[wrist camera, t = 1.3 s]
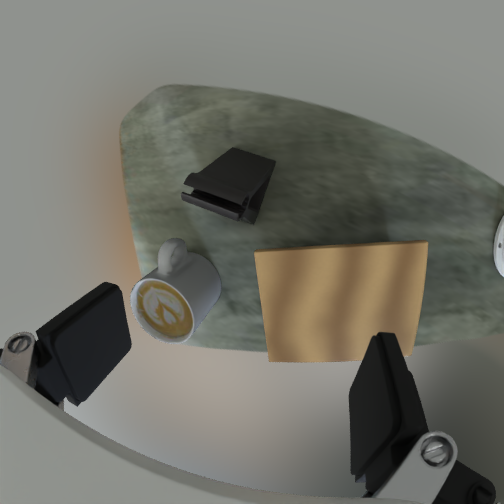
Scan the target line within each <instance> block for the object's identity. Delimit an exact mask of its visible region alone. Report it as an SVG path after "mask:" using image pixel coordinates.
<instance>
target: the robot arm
mask: <svg viewBox="0 0 504 504" xmlns="http://www.w3.org/2000/svg"><path fill="white" fill-rule="evenodd" d="M494 261H495V265H496V267H497V270H498V271H499V273H500V274H501V275H502V276H503V277H504V216H503V217H502V219H501V221H500V223H499V226H498V229H497V232H496V236H495V241H494ZM36 333H37V336H38V340H37V341H36V340H35V338H34V336H33V335H32V334H31V333H29V332H19V333H16V334H14V335H13V336H11V337H10V338H9V339H8V340H7V341H6V343H5V346H4V348H3V349H0V504H495V503H494V501H495V498H496V491H495V487H494V485H493V484H492V482H491V481H489V480H488V479H486V478H485V477H483V476H481V475H480V474H478V473H476V472H475V471H473V470H471V469H470V468H468V467H467V466H465V465H464V464H462V463H460V462H459V461H457V460H456V457H457V446H456V443H455V442H454V440H453V439H452V437H450V436H449V435H448V434H446V433H444V432H441V431H431V432H429V430H428V426H427V423H426V419H425V415H424V411H423V408H422V404H421V401H420V398H419V395H418V391H417V388H416V385H415V381H414V379H413V375H412V373H411V372H410V371H408V368H407V365H406V362H405V359H404V356H403V354H402V351H401V348H400V345H399V342H398V340H397V337H396V335H395V333H389V332H378V333H377V335H376V336H375V335H373V336H372V337H371V340H370V342H369V345H368V347H367V350H366V353H365V355H364V358H363V360H362V363H361V365H360V367H359V370H358V372H357V375H356V377H355V379H354V382H353V384H352V386H351V388H350V392H349V412H350V438H351V439H350V440H351V474H352V475H355V482H366V489H367V491H366V492H365V493H364V494H363V495H362V496H361V497H360V498H343V497H315V496H301V495H292V494H284V493H277V492H270V491H264V490H258V489H252V488H246V487H242V486H237V485H233V484H229V483H224V482H220V481H217V480H213V479H209V478H206V477H202V476H199V475H196V474H193V473H190V472H187V471H184V470H181V469H178V468H175V467H172V466H170V465H167V464H164V463H162V462H159V461H157V460H154V459H152V458H149V457H147V456H145V455H142V454H140V453H138V452H136V451H133V450H131V449H129V448H127V447H125V446H123V445H121V444H119V443H117V442H115V441H113V440H111V439H109V438H107V437H106V436H104V435H102V434H100V433H98V432H97V431H95V430H93V429H91V428H90V427H88V426H86V425H85V424H83V423H81V422H80V421H78V420H77V419H75V418H73V417H72V416H70V415H69V414H67V413H66V412H64V400H63V399H64V398H65V397H67V399H68V401H69V402H71V403H73V404H74V405H76V406H78V405H79V404H80V403H81V402H83V401H85V400H86V399H87V398H88V397H89V396H90V395H91V394H92V393H93V391H94V390H95V389H96V388H97V387H98V386H99V385H100V383H101V382H102V381H103V380H104V379H105V378H106V377H107V375H108V374H109V373H110V372H111V371H112V370H113V369H114V367H115V366H116V365H117V364H118V363H119V362H120V361H121V360H122V358H123V357H124V356H125V355H126V354H127V353H128V352H129V350H130V349H131V345H132V344H131V338H130V333H129V328H128V323H127V318H126V313H125V307H124V301H123V296H122V291H121V290H120V288H119V286H117V285H116V284H112V283H108V282H104V283H102V284H100V285H99V286H97V287H96V288H95V289H93V290H92V291H90V292H89V293H87V294H86V295H84V296H83V297H82V298H81V299H79V300H78V301H76V302H75V303H73V304H72V305H70V306H69V307H68V308H66V309H65V310H64V311H62V312H61V313H59V314H58V315H57V316H55V317H54V318H53V319H51V320H50V321H49V322H47V323H46V324H45V325H43V326H42V327H41V328H39V329H38V330H37V331H36ZM496 504H501V503H500V502H498V503H496Z"/></svg>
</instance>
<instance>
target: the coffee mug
mask: <svg viewBox="0 0 504 504" xmlns="http://www.w3.org/2000/svg"><path fill="white" fill-rule="evenodd" d="M173 252H174V254H173V257H171V256H172V253H173ZM220 293H221V280H220V277H219V274H218V272H217V270H216V268H215V267H214V266H213V264H212V263H211V262H210V261H208V260H207V259H206V258H205V257H203V256H201V255H199V254H196V253H192V252H187V247H186V244H185V242H184V241H183V240H182V239H179V238H171V239H169V240H167V241H166V242H165V243H164V244H163V245H162V246H161V248H160V250H159V254H158V267H157V268H156V269H155V270H153V271H152V272H150V273H149V274H148V275H146V276H145V277H144V278H142V279H141V280H140V281H138V282H137V283H136V284H135V285H134V287H133V289H132V291H131V295H130V303H131V308H132V311H133V314H134V316H135V318H136V320H137V321H138V323H139V324H140V326H141V327H142V328H143V329H144V330H145V331H146V332H147V333H148V334H150V335H151V336H152V337H154V338H155V339H158V340H159V341H162V342H165V343H170V344H178V343H182V342H185V341H186V340H188V339H189V338H190V337H191V336H192V334H193V333H194V332H195V330H196V329H197V328H198V326H199V325H200V323H201V322H202V321H203V319H204V318H205V317H206V315H207V314H208V312H209V311H210V310H211V308H212V307H213V306H214V304H215V303H216V301H217V300H218V298H219V296H220Z"/></svg>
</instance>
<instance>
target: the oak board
mask: <svg viewBox="0 0 504 504" xmlns="http://www.w3.org/2000/svg"><path fill="white" fill-rule="evenodd" d="M427 253H428V242H427V241H426V240H415V241H397V242H378V243H360V244H342V245H324V246H307V247H289V248H272V249H256V250H255V251H254V256H255V263H256V271H257V278H258V285H259V292H260V299H261V307H262V314H263V321H264V328H265V336H266V343H267V350H268V357H269V362H341V361H359V360H363V358H364V355H365V353H366V350H367V347H368V345H369V342H370V340H371V337H372V336H373V335H375V336H376V335H377V333H378V332H389V333H395V335H396V337H397V340H398V342H399V345H400V348H401V351H402V354H403V356H411V355H412V351H413V347H414V342H415V338H416V333H417V328H418V323H419V317H420V311H421V305H422V299H423V292H424V284H425V275H426V265H427Z"/></svg>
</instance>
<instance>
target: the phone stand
mask: <svg viewBox="0 0 504 504" xmlns="http://www.w3.org/2000/svg"><path fill="white" fill-rule="evenodd" d="M275 163H276V161H273V160H270V159H267V158H264V157H261V156H258V155H255V154H252V153H249V152H246V151H243V150H240V149H237V148H234V147H232V148H231V149H230V150H228V151H227V152H226V153H224V154H223V155H222V156H220V157H219V158H218V159H216V160H215V161H214V162H212V163H211V164H210V165H208V166H207V167H206V168H204V169H203V170H202V171H200V172H199V173H191V174H190V175H189V176H188V177H187V178H186V180H185V182H184V184H185V185H188V186H190V187H193V188H194V191H192V193H191V194H187V193H185V192H182V193H181V198H182V200H183V201H186V202H188V203H191V204H194V205H196V206H199V207H202V208H204V209H207V210H210V211H212V212H215V213H217V214H220V215H223V216H225V217H228V218H230V219H233V220H236V221H240V220H242V221H245V222H247V223H250V224H253V225H254V223H255V221H256V218H257V215H258V212H259V209H260V206H261V203H262V201H263V198H264V194H265V192H266V189H267V186H268V183H269V180H270V177H271V175H272V172H273V169H274V166H275Z"/></svg>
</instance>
